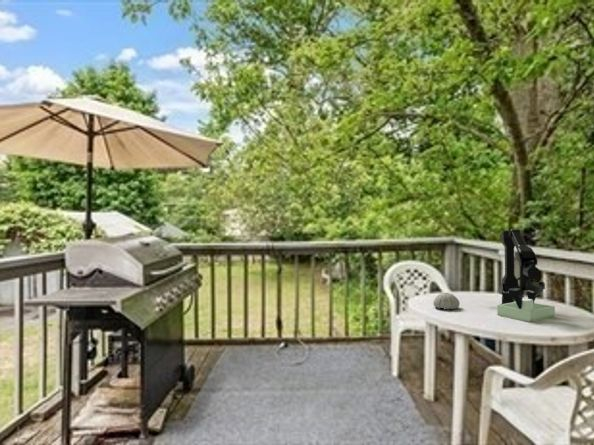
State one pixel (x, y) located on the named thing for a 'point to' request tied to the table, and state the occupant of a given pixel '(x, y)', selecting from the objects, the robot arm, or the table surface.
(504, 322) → the table surface
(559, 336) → the table surface
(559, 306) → the table surface
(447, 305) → the sea urchin shell
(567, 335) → the table surface
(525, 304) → the shot glass
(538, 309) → the bin
